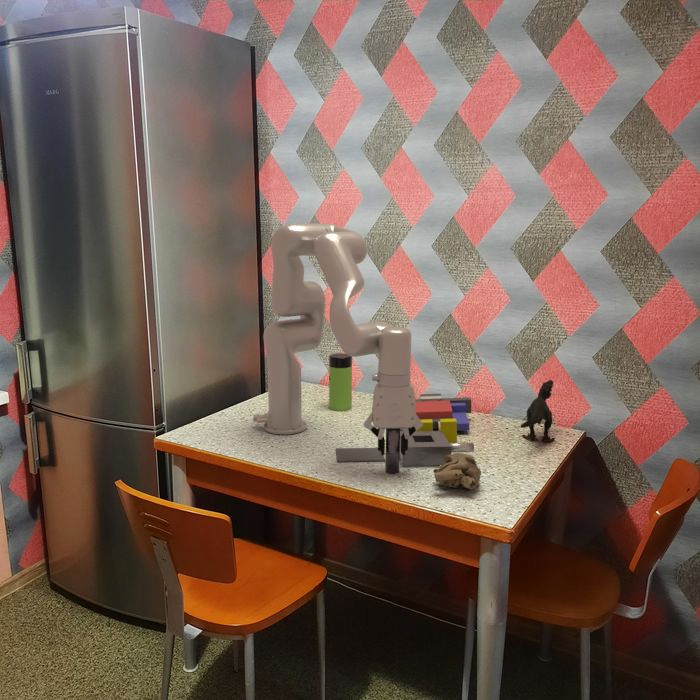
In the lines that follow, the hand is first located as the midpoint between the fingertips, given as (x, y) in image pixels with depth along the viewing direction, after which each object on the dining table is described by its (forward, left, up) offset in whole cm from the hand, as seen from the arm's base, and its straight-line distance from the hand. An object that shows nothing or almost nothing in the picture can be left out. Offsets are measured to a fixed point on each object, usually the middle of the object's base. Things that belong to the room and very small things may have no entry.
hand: (392, 452), depth 154 cm
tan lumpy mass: (+14, -9, -5) cm, 17 cm away
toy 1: (+15, +33, -5) cm, 37 cm away
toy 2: (+42, +19, -5) cm, 47 cm away
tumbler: (-10, +54, -5) cm, 55 cm away
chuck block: (+12, +9, -5) cm, 16 cm away
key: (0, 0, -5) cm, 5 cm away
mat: (-7, +11, -5) cm, 14 cm away
